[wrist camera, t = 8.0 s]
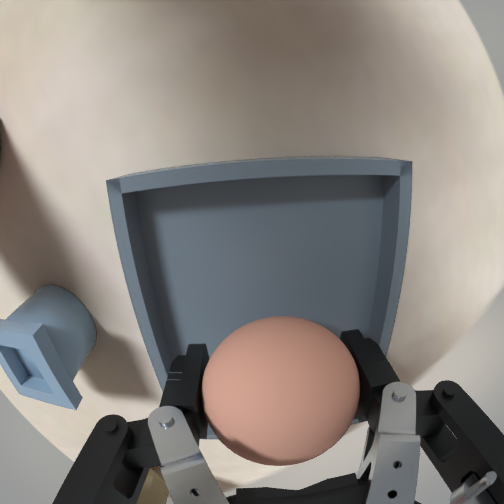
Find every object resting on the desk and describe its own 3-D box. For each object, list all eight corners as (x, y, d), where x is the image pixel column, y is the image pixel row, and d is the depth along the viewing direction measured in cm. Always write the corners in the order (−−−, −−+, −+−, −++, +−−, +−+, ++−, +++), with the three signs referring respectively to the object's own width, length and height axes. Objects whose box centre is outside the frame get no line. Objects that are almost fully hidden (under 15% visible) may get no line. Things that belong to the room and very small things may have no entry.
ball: (198, 293, 11) (169, 408, 6) (341, 281, 12) (406, 381, 6) (218, 389, 14) (211, 489, 8) (330, 379, 14) (360, 472, 8)
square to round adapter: (24, 285, 14) (-21, 325, 9) (80, 283, 14) (33, 333, 9) (51, 349, 15) (19, 394, 11) (107, 355, 15) (78, 411, 11)
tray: (129, 174, 12) (106, 180, 9) (384, 158, 12) (412, 161, 10) (188, 411, 17) (184, 438, 15) (354, 396, 17) (364, 421, 15)
